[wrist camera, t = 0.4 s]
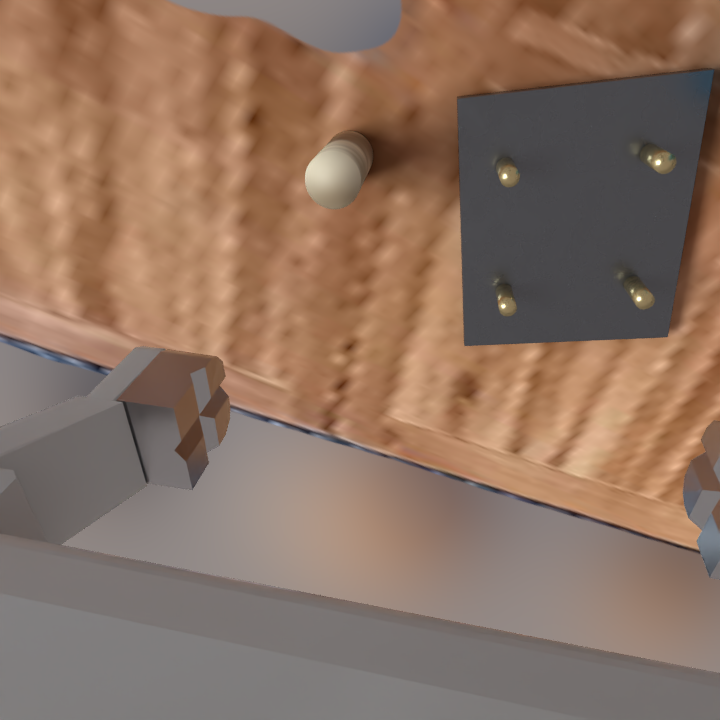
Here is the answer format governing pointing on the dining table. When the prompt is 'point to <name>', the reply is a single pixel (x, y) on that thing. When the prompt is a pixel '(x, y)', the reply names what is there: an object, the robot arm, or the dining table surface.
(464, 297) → the pin plate
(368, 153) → the birch post
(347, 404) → the dining table surface
